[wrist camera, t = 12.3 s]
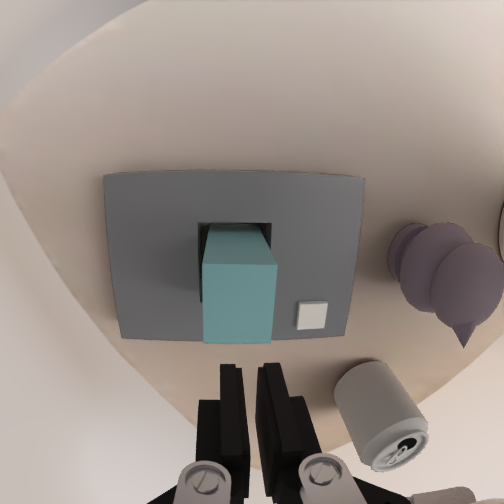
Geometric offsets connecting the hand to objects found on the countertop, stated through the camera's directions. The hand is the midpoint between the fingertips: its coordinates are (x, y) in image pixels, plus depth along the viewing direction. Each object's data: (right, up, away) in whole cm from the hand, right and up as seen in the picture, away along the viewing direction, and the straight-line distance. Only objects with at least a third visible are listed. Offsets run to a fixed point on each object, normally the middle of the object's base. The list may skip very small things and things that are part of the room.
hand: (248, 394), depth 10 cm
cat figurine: (+16, +5, +18) cm, 25 cm away
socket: (-1, +5, +16) cm, 17 cm away
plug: (-1, +5, +16) cm, 17 cm away
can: (+13, -10, +23) cm, 28 cm away
